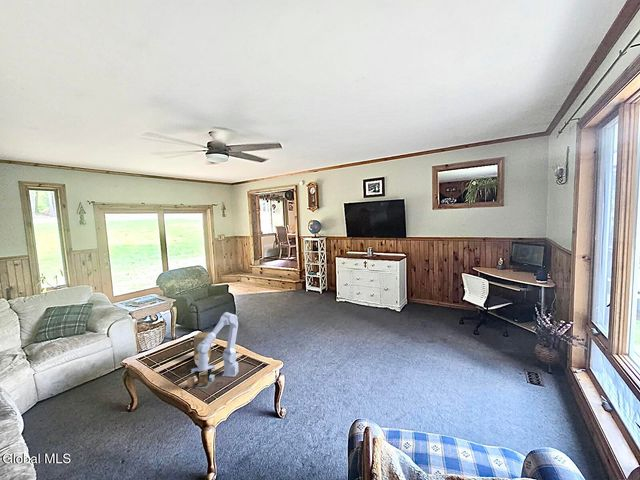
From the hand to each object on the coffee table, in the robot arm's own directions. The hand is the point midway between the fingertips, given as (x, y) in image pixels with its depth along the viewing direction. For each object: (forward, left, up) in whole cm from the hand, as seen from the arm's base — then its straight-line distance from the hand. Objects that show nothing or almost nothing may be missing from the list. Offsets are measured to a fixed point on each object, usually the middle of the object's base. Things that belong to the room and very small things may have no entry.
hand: (203, 381), depth 188 cm
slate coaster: (0, 0, -3) cm, 3 cm away
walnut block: (0, 0, -2) cm, 2 cm away
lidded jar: (+15, -26, -3) cm, 30 cm away
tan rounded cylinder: (+8, +1, -3) cm, 9 cm away
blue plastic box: (-2, -7, -3) cm, 7 cm away
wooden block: (+20, -36, -3) cm, 42 cm away
